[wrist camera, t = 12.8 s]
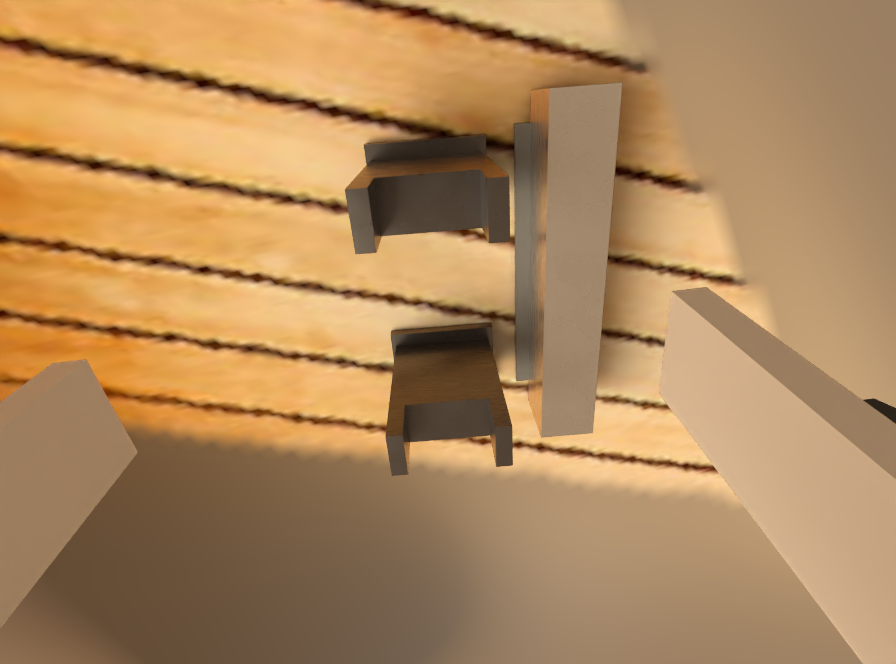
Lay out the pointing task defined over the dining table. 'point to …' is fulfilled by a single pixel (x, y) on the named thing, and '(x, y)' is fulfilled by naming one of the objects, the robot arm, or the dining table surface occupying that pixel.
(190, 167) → the dining table surface
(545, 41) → the dining table surface
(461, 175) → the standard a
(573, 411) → the rail
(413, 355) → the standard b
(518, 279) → the plank
